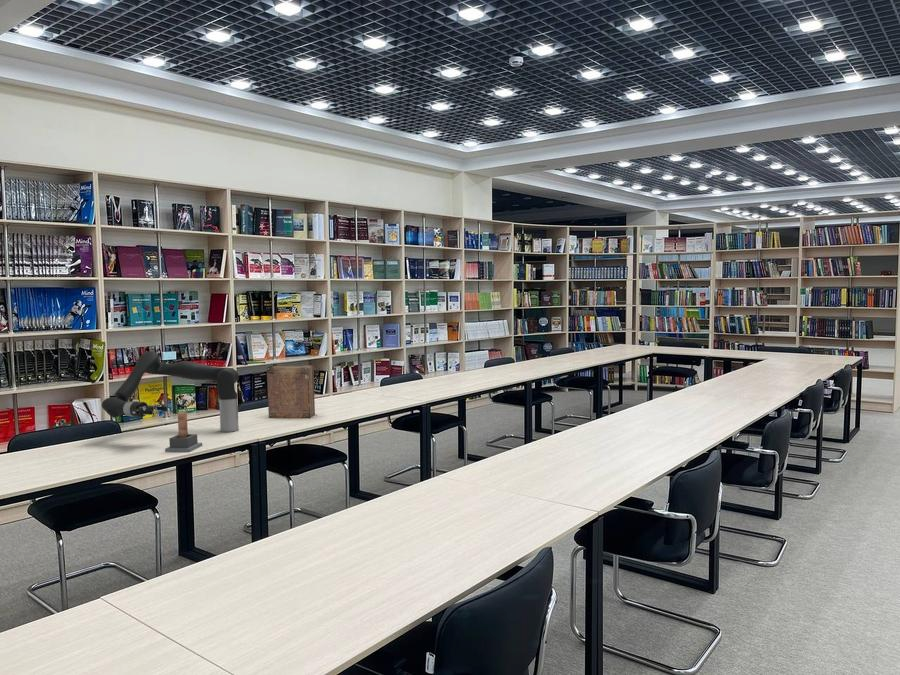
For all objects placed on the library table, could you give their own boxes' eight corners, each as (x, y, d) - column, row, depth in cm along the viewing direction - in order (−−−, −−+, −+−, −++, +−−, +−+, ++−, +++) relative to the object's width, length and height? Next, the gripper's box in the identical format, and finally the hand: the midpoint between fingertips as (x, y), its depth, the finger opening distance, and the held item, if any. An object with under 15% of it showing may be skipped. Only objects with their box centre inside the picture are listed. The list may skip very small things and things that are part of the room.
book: (315, 415, 381) (313, 365, 378) (309, 418, 371) (308, 367, 369) (274, 414, 384) (273, 365, 382) (268, 417, 375) (266, 367, 373)
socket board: (178, 445, 309) (178, 433, 309) (202, 445, 308) (201, 433, 308) (165, 451, 298) (164, 439, 297) (189, 452, 296) (189, 439, 296)
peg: (181, 444, 305) (180, 411, 304) (189, 444, 305) (188, 411, 304) (177, 446, 301) (176, 412, 300) (185, 446, 301) (184, 412, 300)
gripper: (148, 413, 320) (172, 415, 313) (123, 419, 307) (147, 421, 300) (147, 398, 319) (171, 400, 312) (122, 404, 306) (146, 405, 299)
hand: (159, 410), depth 306 cm, fingers open, 8 cm apart
